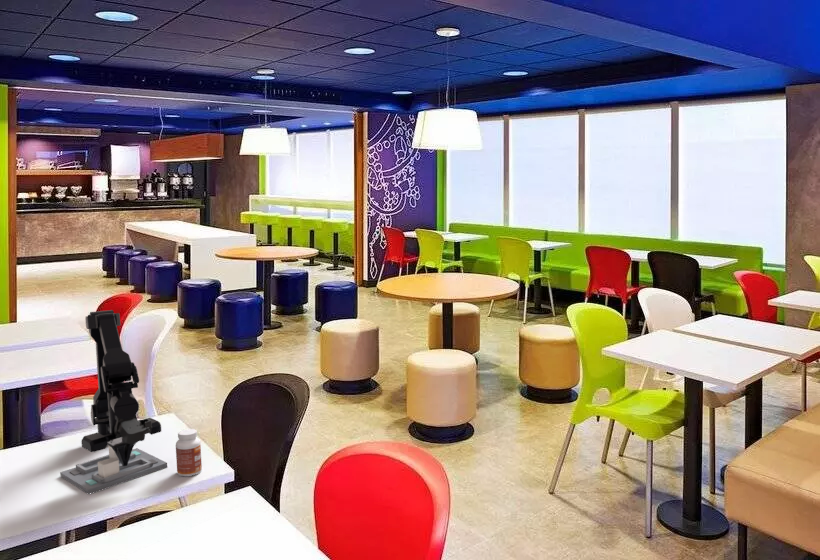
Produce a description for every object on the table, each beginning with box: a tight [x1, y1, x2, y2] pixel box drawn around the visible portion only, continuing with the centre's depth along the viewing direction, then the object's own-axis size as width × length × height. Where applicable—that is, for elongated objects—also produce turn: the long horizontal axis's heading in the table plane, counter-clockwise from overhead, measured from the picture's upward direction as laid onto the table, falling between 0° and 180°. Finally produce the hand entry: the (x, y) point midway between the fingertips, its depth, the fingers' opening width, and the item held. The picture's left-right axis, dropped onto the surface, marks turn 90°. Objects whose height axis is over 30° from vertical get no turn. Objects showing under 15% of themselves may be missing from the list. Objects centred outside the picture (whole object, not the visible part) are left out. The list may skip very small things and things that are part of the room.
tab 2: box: [98, 457, 120, 478], centre depth 176 cm, size 3×4×4 cm
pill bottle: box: [175, 428, 203, 477], centre depth 180 cm, size 6×6×11 cm
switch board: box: [59, 447, 168, 495], centre depth 182 cm, size 16×21×2 cm
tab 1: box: [107, 445, 118, 459], centre depth 187 cm, size 3×4×4 cm
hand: (124, 465), depth 179 cm, fingers closed
